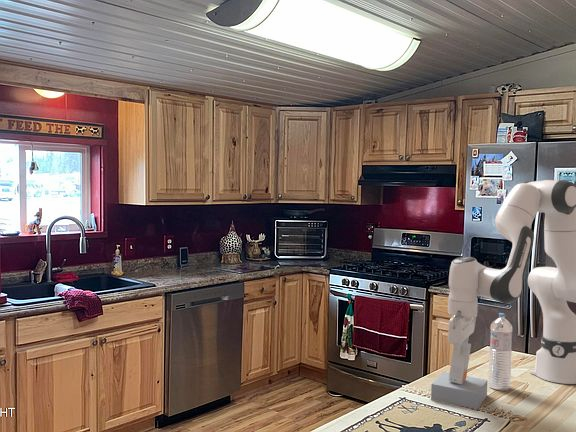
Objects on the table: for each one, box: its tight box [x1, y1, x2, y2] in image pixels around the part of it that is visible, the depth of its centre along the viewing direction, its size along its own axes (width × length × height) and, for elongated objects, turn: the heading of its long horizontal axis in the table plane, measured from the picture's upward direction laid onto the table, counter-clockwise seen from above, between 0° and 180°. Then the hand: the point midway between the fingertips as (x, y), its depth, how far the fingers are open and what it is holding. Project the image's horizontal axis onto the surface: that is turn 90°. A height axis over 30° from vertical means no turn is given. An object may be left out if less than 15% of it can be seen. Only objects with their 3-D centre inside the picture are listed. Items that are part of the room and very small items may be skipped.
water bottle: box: [488, 312, 513, 392], centre depth 182 cm, size 7×7×25 cm
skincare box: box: [449, 342, 472, 385], centre depth 172 cm, size 6×4×12 cm
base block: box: [430, 371, 488, 410], centre depth 172 cm, size 14×14×5 cm
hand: (460, 352), depth 172 cm, fingers closed on skincare box, 6 cm apart
